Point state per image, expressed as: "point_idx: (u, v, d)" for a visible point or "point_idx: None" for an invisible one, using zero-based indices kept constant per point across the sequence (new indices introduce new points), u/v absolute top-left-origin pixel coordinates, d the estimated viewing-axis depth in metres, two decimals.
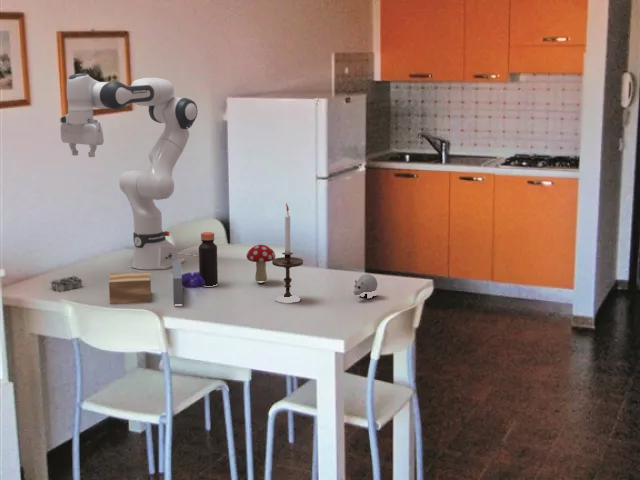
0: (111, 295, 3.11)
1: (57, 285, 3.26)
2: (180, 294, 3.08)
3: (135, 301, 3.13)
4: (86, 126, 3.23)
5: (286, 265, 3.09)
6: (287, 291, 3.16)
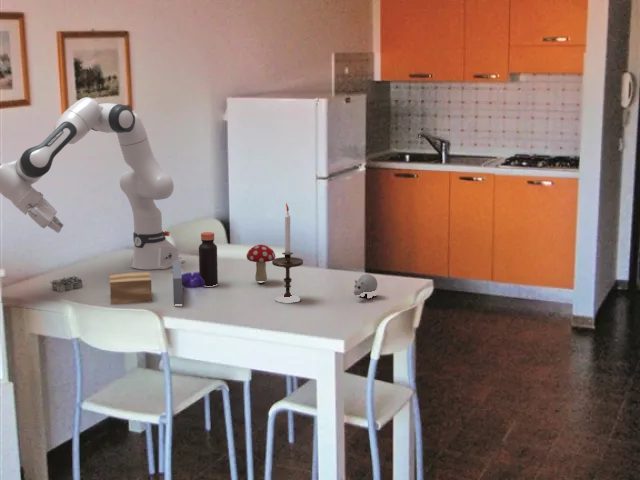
0: (112, 295, 3.11)
1: (58, 285, 3.26)
2: (180, 294, 3.08)
3: (136, 301, 3.13)
4: None
5: (286, 265, 3.09)
6: (287, 291, 3.16)
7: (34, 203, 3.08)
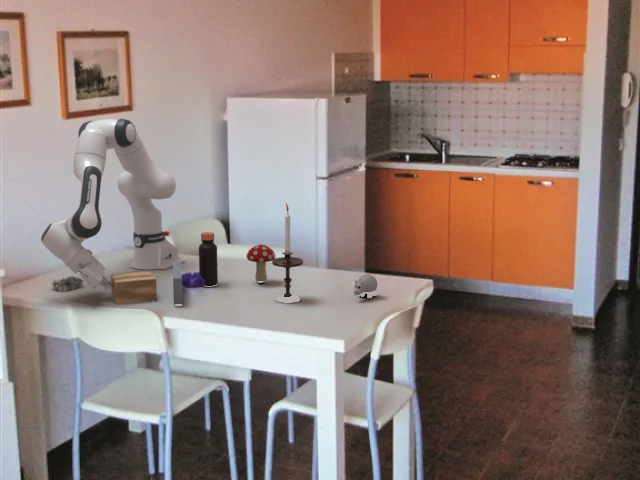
0: (118, 295, 3.10)
1: (61, 285, 3.26)
2: (180, 294, 3.08)
3: (141, 300, 3.14)
4: None
5: (286, 265, 3.09)
6: (287, 291, 3.16)
7: (84, 263, 3.09)
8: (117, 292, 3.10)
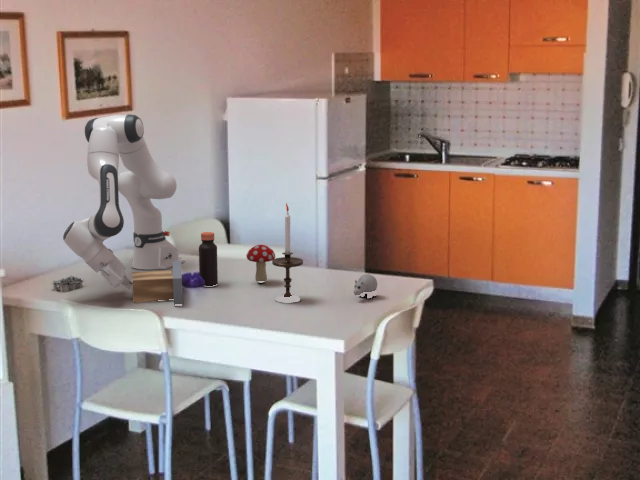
0: (134, 293, 3.13)
1: (62, 285, 3.26)
2: (180, 294, 3.08)
3: (158, 299, 3.15)
4: None
5: (286, 265, 3.09)
6: (287, 291, 3.16)
7: (106, 261, 3.10)
8: (134, 290, 3.12)
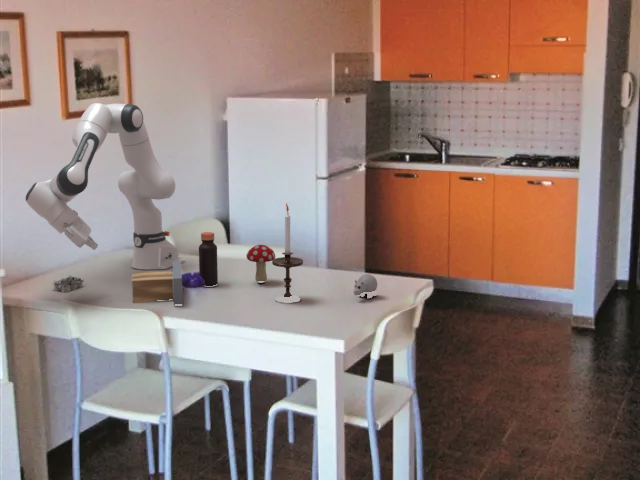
0: (134, 294, 3.13)
1: (63, 285, 3.26)
2: (180, 294, 3.08)
3: None
4: None
5: (286, 265, 3.09)
6: (287, 291, 3.16)
7: (70, 222, 3.05)
8: (134, 290, 3.13)
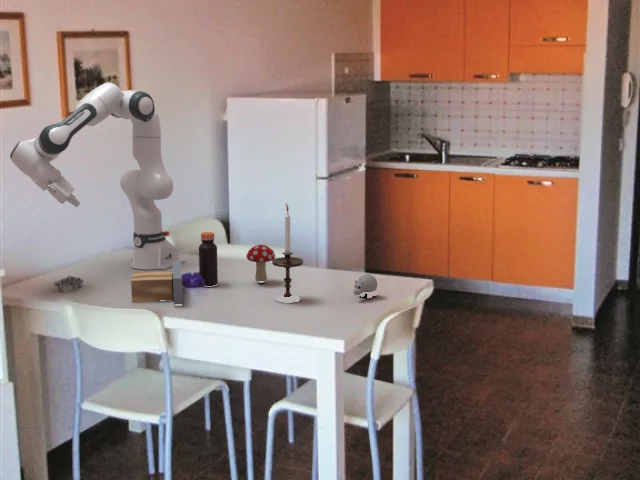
0: (133, 294, 3.13)
1: (65, 286, 3.26)
2: (180, 294, 3.08)
3: (157, 300, 3.15)
4: None
5: (286, 265, 3.09)
6: (287, 291, 3.16)
7: (53, 179, 3.16)
8: (133, 290, 3.13)
